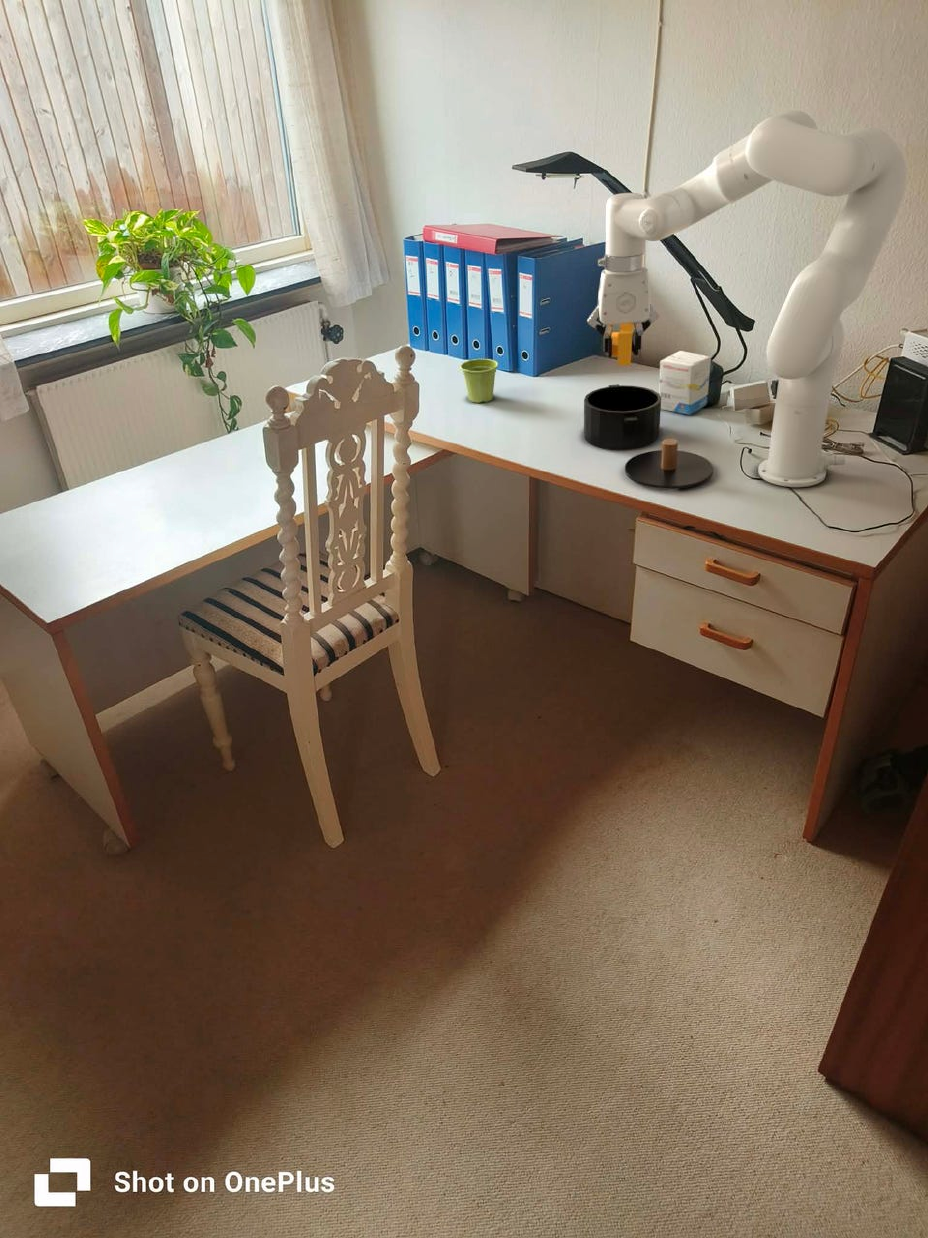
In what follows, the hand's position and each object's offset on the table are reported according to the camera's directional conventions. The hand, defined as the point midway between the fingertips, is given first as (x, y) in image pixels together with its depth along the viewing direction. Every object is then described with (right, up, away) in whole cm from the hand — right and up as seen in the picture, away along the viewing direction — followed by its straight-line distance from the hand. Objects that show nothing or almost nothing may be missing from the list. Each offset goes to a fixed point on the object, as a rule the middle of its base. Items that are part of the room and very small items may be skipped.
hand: (621, 353), depth 183 cm
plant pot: (-29, 0, +37) cm, 47 cm away
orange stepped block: (0, -1, 0) cm, 1 cm away
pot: (+2, -15, +12) cm, 19 cm away
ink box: (+19, -6, +23) cm, 30 cm away
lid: (+8, -25, -6) cm, 27 cm away
